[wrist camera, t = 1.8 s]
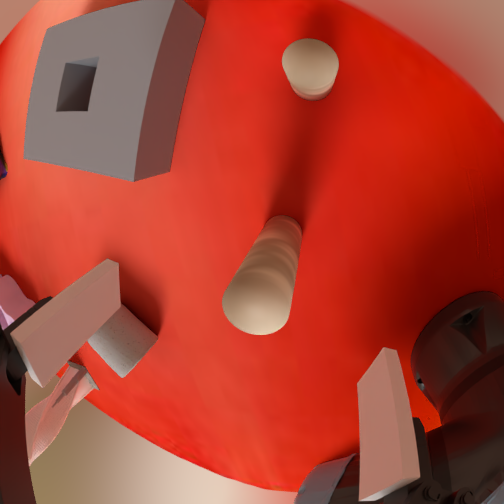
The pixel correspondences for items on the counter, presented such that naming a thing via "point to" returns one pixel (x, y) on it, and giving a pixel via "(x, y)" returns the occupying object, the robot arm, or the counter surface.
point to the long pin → (265, 279)
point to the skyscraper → (56, 409)
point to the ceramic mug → (122, 341)
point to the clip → (12, 301)
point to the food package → (2, 166)
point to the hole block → (113, 89)
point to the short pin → (310, 68)
